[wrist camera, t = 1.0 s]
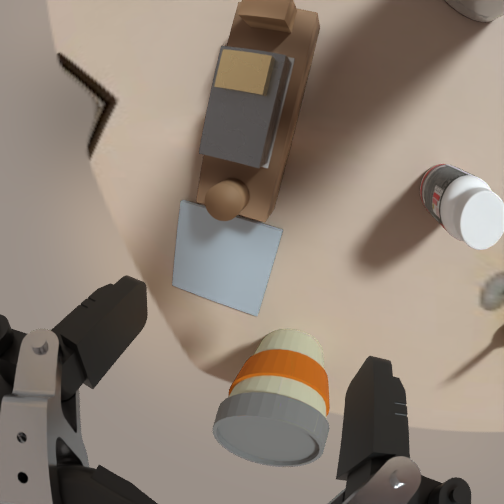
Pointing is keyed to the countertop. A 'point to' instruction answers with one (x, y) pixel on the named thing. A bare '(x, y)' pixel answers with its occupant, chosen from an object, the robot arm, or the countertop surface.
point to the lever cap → (244, 105)
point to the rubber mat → (224, 257)
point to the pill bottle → (463, 205)
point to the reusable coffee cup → (278, 403)
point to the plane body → (270, 175)
